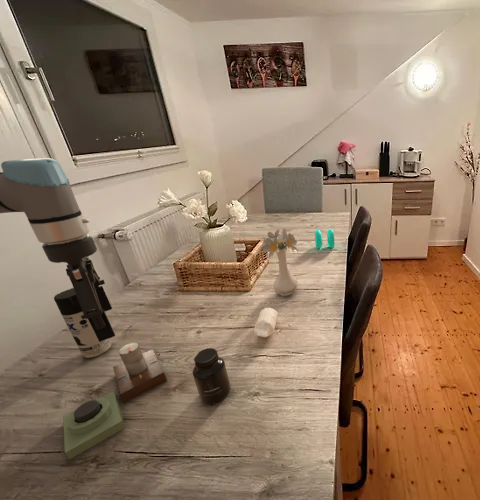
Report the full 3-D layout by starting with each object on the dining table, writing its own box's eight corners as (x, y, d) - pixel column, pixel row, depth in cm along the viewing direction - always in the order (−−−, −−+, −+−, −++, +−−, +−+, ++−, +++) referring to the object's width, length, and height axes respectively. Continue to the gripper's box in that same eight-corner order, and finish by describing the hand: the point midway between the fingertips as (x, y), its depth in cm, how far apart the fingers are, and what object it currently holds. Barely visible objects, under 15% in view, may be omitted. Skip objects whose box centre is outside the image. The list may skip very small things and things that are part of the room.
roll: (252, 346, 83) (249, 331, 81) (261, 321, 94) (258, 307, 92) (273, 345, 83) (270, 330, 81) (279, 320, 94) (276, 306, 92)
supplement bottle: (211, 410, 64) (199, 371, 59) (194, 397, 68) (181, 359, 63) (237, 388, 70) (227, 351, 65) (220, 377, 73) (209, 341, 68)
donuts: (316, 244, 156) (314, 227, 152) (333, 243, 157) (333, 226, 153) (316, 251, 147) (314, 233, 143) (334, 250, 148) (334, 232, 144)
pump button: (76, 414, 60) (72, 408, 60) (100, 402, 63) (97, 396, 62) (77, 426, 58) (74, 421, 57) (102, 413, 60) (99, 408, 60)
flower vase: (300, 278, 121) (294, 222, 111) (304, 301, 104) (297, 238, 95) (269, 282, 118) (260, 226, 108) (268, 306, 102) (257, 243, 92)
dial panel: (116, 375, 74) (112, 366, 73) (155, 356, 80) (152, 348, 79) (124, 403, 67) (120, 394, 65) (167, 380, 72) (163, 371, 71)
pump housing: (67, 422, 62) (59, 410, 61) (117, 397, 68) (111, 385, 67) (69, 459, 55) (60, 447, 54) (125, 427, 61) (118, 415, 59)
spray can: (78, 355, 82) (46, 297, 74) (104, 340, 87) (77, 284, 80) (91, 361, 79) (60, 301, 71) (117, 345, 85) (91, 288, 77)
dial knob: (127, 369, 72) (116, 347, 69) (145, 361, 75) (136, 339, 72) (129, 378, 70) (119, 355, 67) (148, 369, 72) (139, 347, 69)
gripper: (90, 250, 50) (130, 343, 59) (90, 221, 68) (122, 296, 76) (30, 263, 46) (83, 361, 54) (47, 228, 63) (86, 307, 72)
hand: (106, 323), depth 65 cm, fingers open, 13 cm apart
